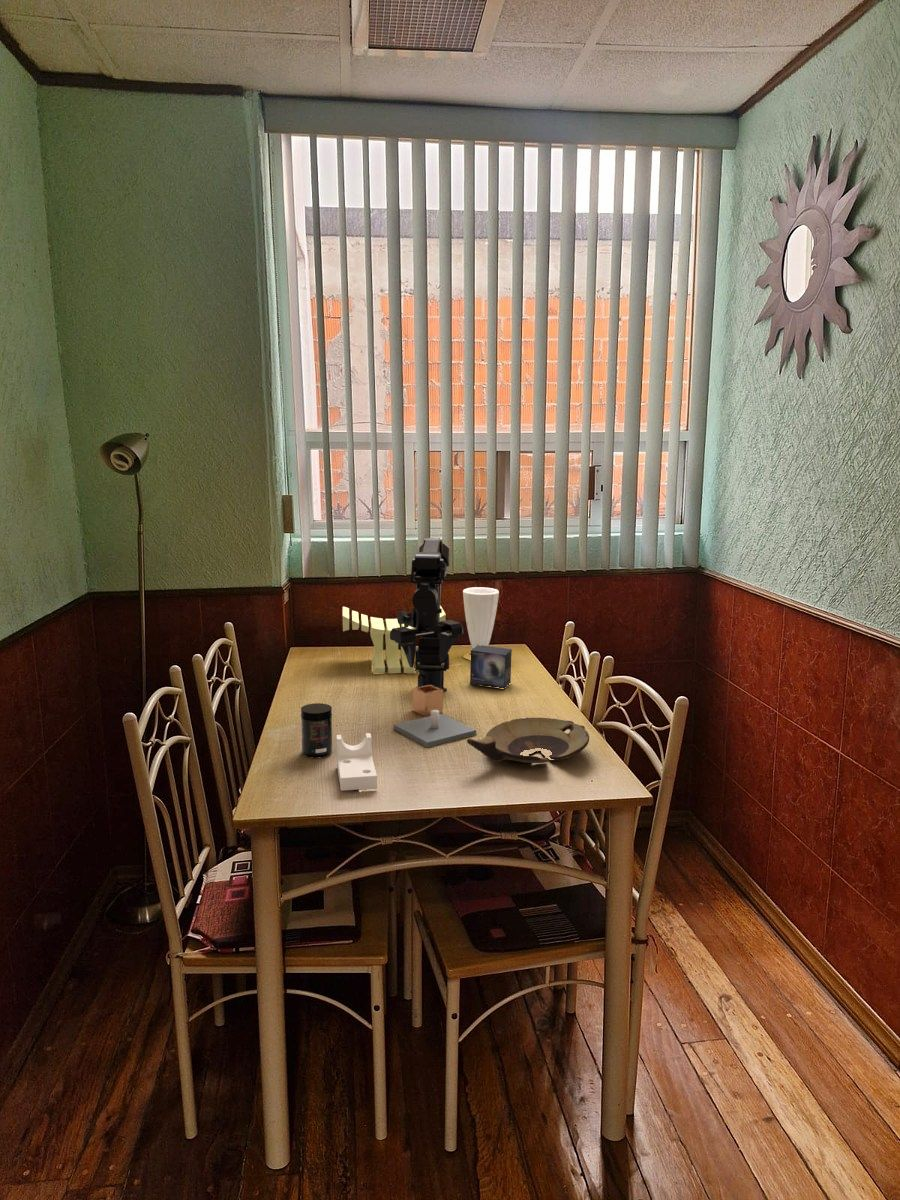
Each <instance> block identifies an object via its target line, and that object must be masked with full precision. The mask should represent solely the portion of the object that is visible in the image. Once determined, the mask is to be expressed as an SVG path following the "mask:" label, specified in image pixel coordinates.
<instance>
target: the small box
mask: <svg viewBox="0 0 900 1200" xmlns="http://www.w3.org/2000/svg"><path fill="white" fill-rule="evenodd" d="M470 652H471V661H470V666H469V667H470V670H469V672H470V673H469V674H470V675H469V684H473V685H472V686H476V685H482V686H481V687H483V686H491V687H499V688H505V687H506V686H507V685H509V683H511V682H512V681H511V679H512V652H513V649H512V648H507V647H497V646H490V645H488V646H483V645H477V646H476V647H475V648H473V649H472V648H471V650H470ZM509 686H510V685H509Z"/></svg>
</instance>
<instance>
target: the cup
mask: <svg viewBox="0 0 900 1200" xmlns="http://www.w3.org/2000/svg"><path fill="white" fill-rule="evenodd" d="M462 596H463V607H464V616H465V622H466V628H467V633H468V637H469V641H470V642H469V643H470V646H471V650H472V649H473V648H475V647H476V646H477V645H483V646H490V645H489V644H490V642H491V638H492V634H493V630H494V626H495V620H496V615H497V610H498V603H499V597H500V592H499V590H498V589H496V588H492V587H483V586H482V587H481V586H479V587H478V586H477V587H476V586H475V587H467V588H465V589H463V590H462ZM469 655H471V653H470V654H469Z"/></svg>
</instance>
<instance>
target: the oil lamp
mask: <svg viewBox="0 0 900 1200" xmlns="http://www.w3.org/2000/svg"><path fill="white" fill-rule="evenodd" d="M567 730H569V732H566V731H567ZM589 742H590V735H589V732H588V731H587V730H586V728H585V726H584V725H581V724H578V723H577V724H576V723H574V721H572V720H565V719H564V720H563V719H559V718H550V717H525V718H524V717H523V718H513V719H511V720H509V721H504V722H501V723H498V724H497V725H495V726H494V727H492V728H491V729H489V731H488V732H487V733H486V735H485V736H484V737H483V738H481V739H474V738H471V737H468V739H467V740H466V743H467V744H468V745H470V746H471V747H473V748H474V749H476V750H477V751H479V752H480V753H482V755H484V756H486V757H487V758H488V759H489V760H491V761H493V762H499V761H503V760H504V761H505V760H509V761H514V762H520V763H524V764H525V763H526V764H544V763H549V761H550V760H549V759H548V758H545V757H539V756H533V755H529V756H523V755H520V753H521V752H523V751H524V750H530V749H535V748H541V749H542V748H543V749H547V750H550V751H551V752H552V755H550V756H549V757H550V758H551V759H554V760H553V761H557V760H558V761H559V760H565V759H569V758H571V757H574V756H576V755H577V754H579V753H581V752H582V751H583V750H584V749H585V748H586V747H587V746H588V745H589Z"/></svg>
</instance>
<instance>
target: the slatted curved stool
mask: <svg viewBox="0 0 900 1200" xmlns="http://www.w3.org/2000/svg"><path fill="white" fill-rule="evenodd" d="M440 609H442V613H440V621H446V620H447V619H446V616H447V615H446V612H445V610H444V609H443V607H442V606H441V605H440ZM360 615H361V616H360V619H359V612H358V611H356V610H351V620H350V608H349V607H346V606H342V632H345V631H349V630H350V629H352V630H353V631H354V630H358V631H359V628H360V630H361V631H362V632H365V633H367V634H369V632H370V639H371V641H372V644H373V647H374V651H373V652H374V653H373V655H372V658H371V661H372V666H373V673H385V674H388V673H401V672H404V673H407V674H417V670H416V667H415V668H414V666H415V665H414V666H413V668H411V667H410V666H409V663H408V660H407V658H406V655H405V652H404V650H403V648H402V646H401V645H400V644H399V643H396V642H395V641H394V640H391V639H390V632H391V630H392V629H393V628H398V627H404V624H398V621H397V618H385V619H383V618H381V617H374V616H370V619H369V618H368V615H366V614H363V613H361V614H360ZM406 628H409V629H412V630H413V629H416V628H413V627H411V626H408V627H406ZM352 630H351V631H352ZM384 635H385V637H384ZM384 639H385V641H384ZM384 651H385V659H384ZM399 652H400V653H399ZM399 655H400V656H399ZM401 662H402V664H401ZM385 664H387V665H386V666H385ZM415 670H416V671H415ZM404 673H403V674H404ZM401 674H402V673H401Z"/></svg>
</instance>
